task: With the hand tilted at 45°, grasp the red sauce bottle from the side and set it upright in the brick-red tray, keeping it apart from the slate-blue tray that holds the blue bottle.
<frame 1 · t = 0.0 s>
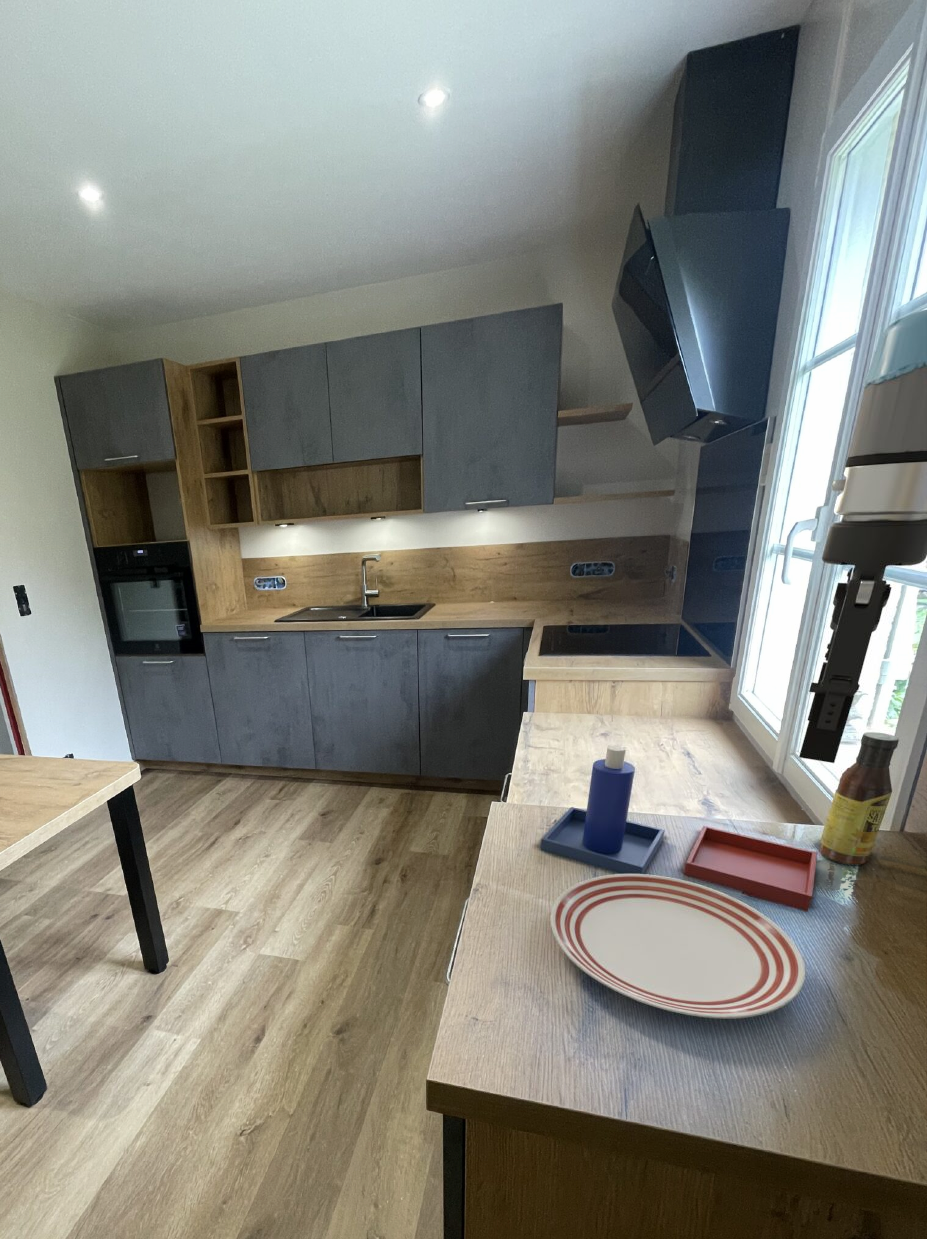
hand: (819, 739, 63), 29 cm above the countertop, tool pointing down, fingers open, 13 cm apart
blue bottle: (601, 845, 100), resting on blue tray
sauce bottle: (841, 857, 95), on the countertop
dinner plate: (663, 953, 76), on the countertop
red tray: (748, 871, 92), on the countertop
blue tray: (601, 847, 100), on the countertop
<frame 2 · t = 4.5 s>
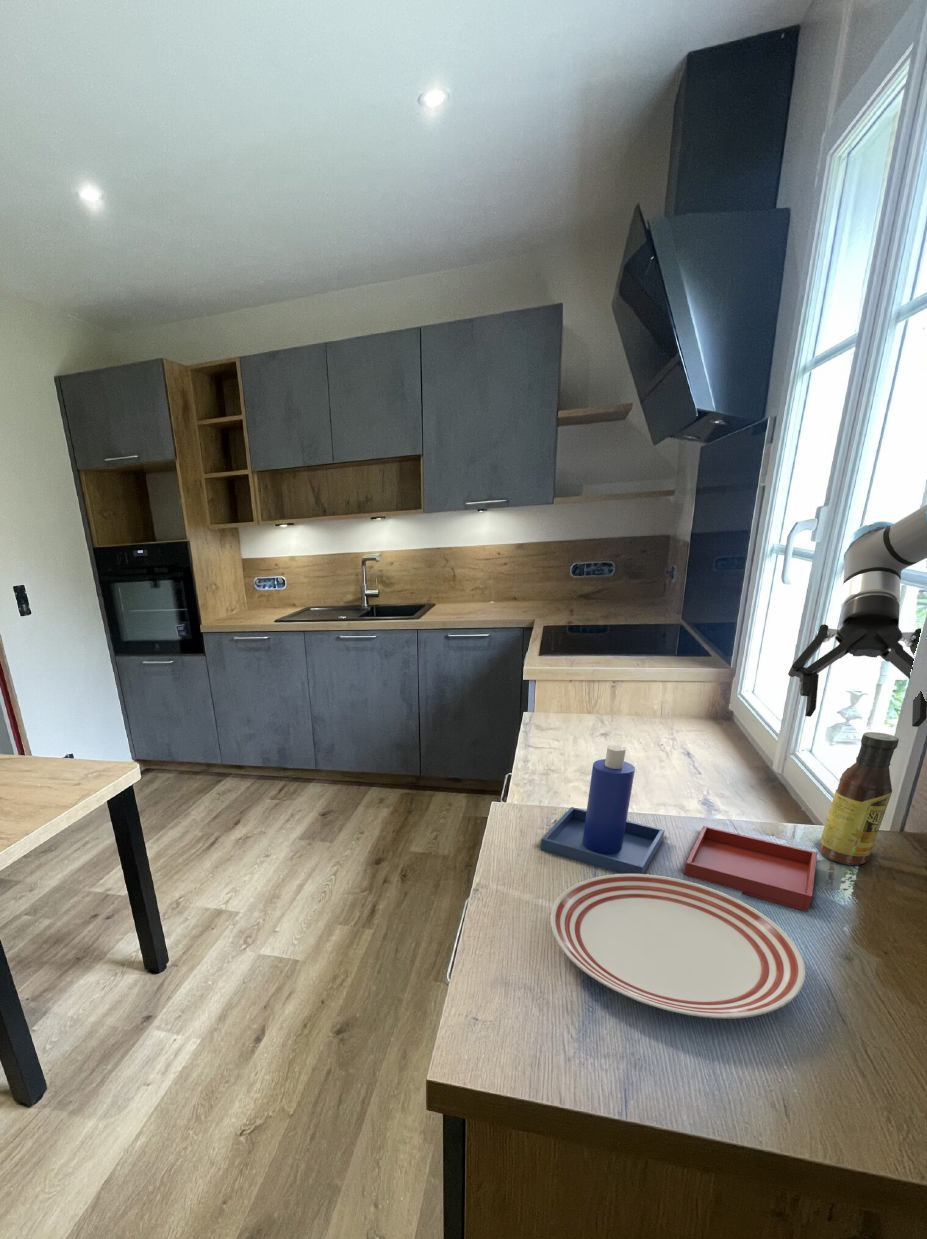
hand: (863, 717, 96), 20 cm above the countertop, tool tilted 45°, fingers open, 13 cm apart
nothing on the countertop moved.
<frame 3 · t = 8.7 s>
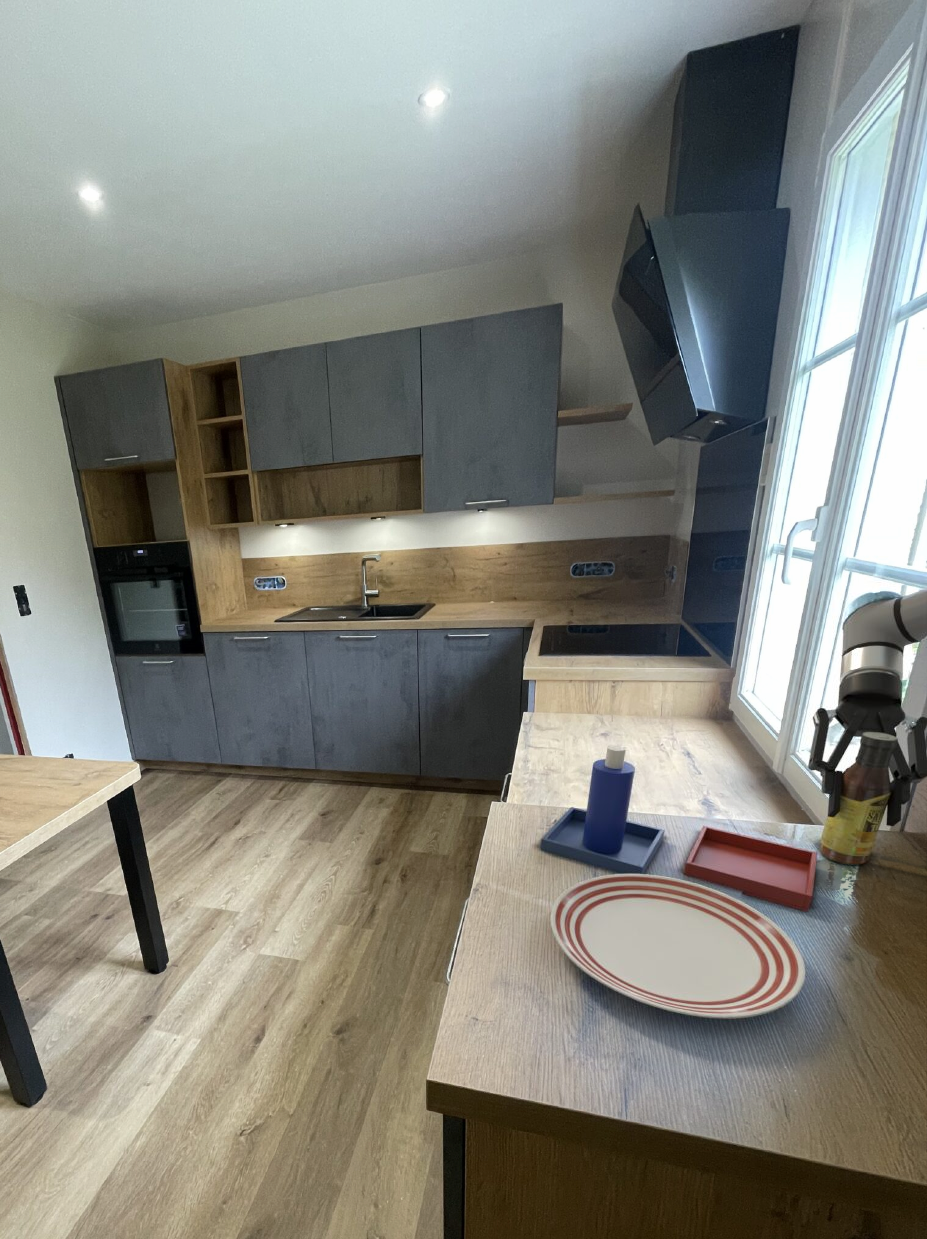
hand: (863, 818, 89), 8 cm above the countertop, tool tilted 45°, fingers closed on sauce bottle, 6 cm apart
sauce bottle: (841, 857, 95), on the countertop, touching gripper
everything else where it was.
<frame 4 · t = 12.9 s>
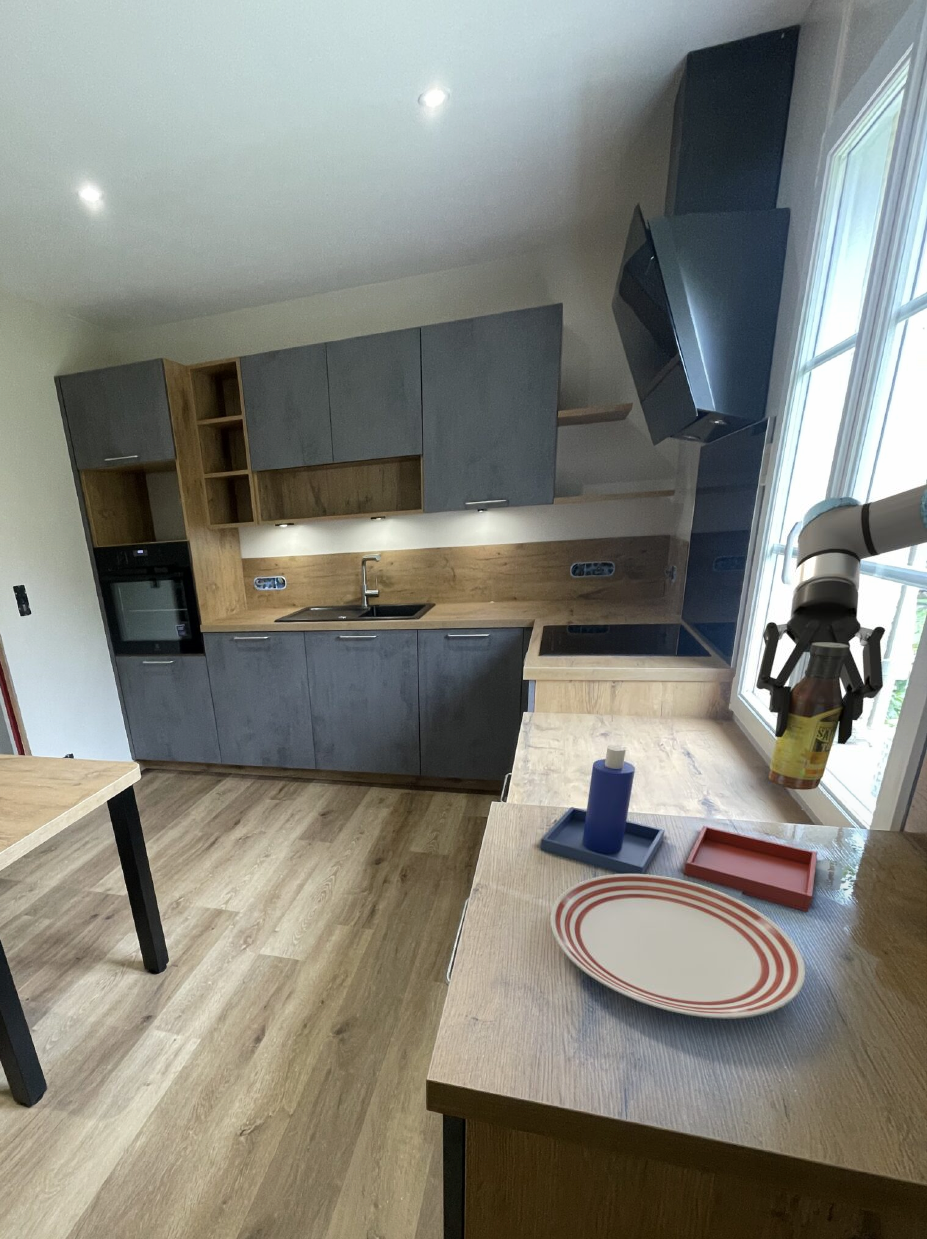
hand: (812, 735, 82), 22 cm above the countertop, tool tilted 45°, fingers closed on sauce bottle, 6 cm apart
sauce bottle: (792, 784, 88), point 14 cm above the countertop, touching gripper
everything else where it was.
when the fingers open (9 cm above the countertop, at t = 17.3 s): sauce bottle stays where it is, resting on red tray.
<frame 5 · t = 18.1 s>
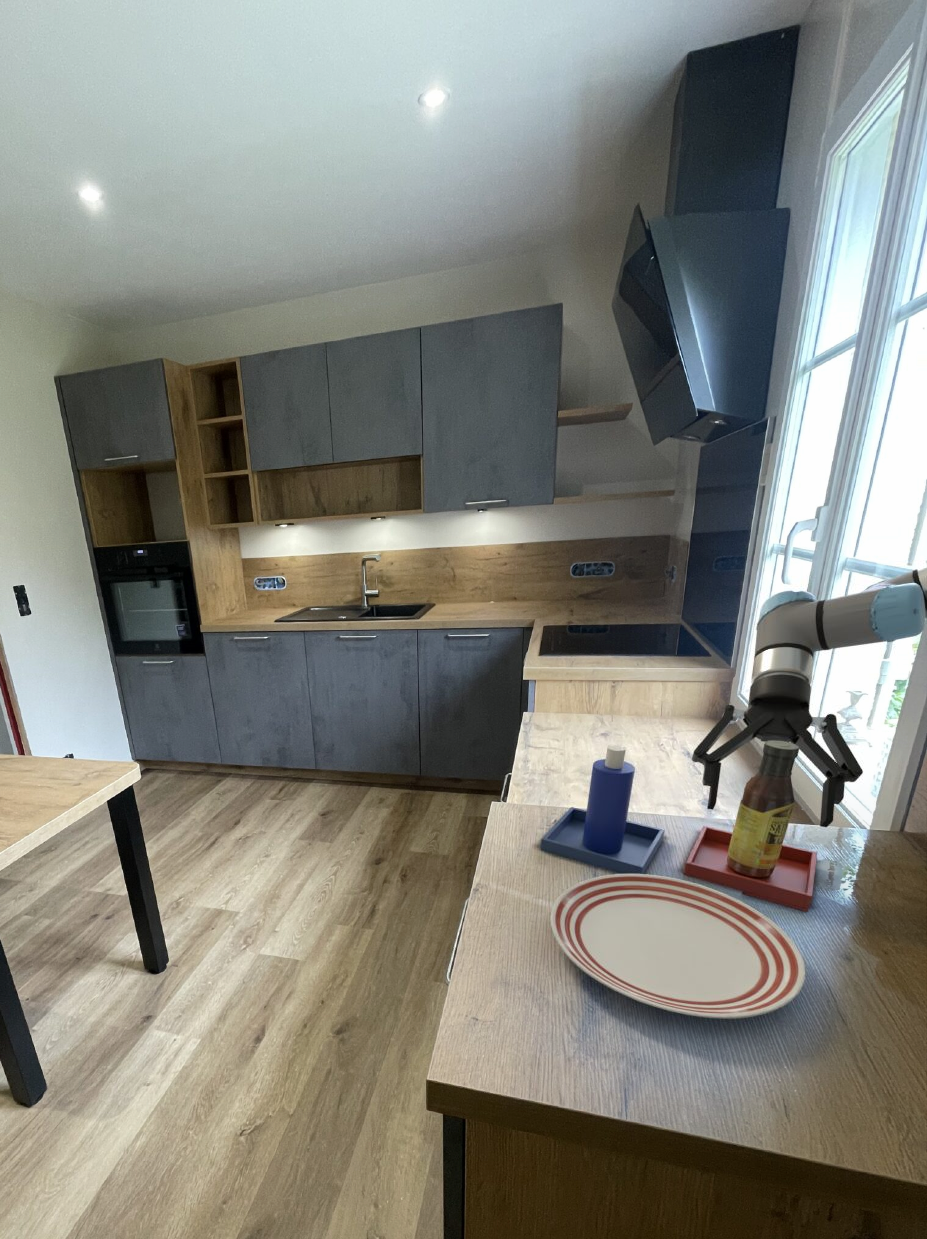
hand: (766, 814, 86), 11 cm above the countertop, tool tilted 45°, fingers open, 13 cm apart
sauce bottle: (749, 869, 92), resting on red tray
everything else where it was.
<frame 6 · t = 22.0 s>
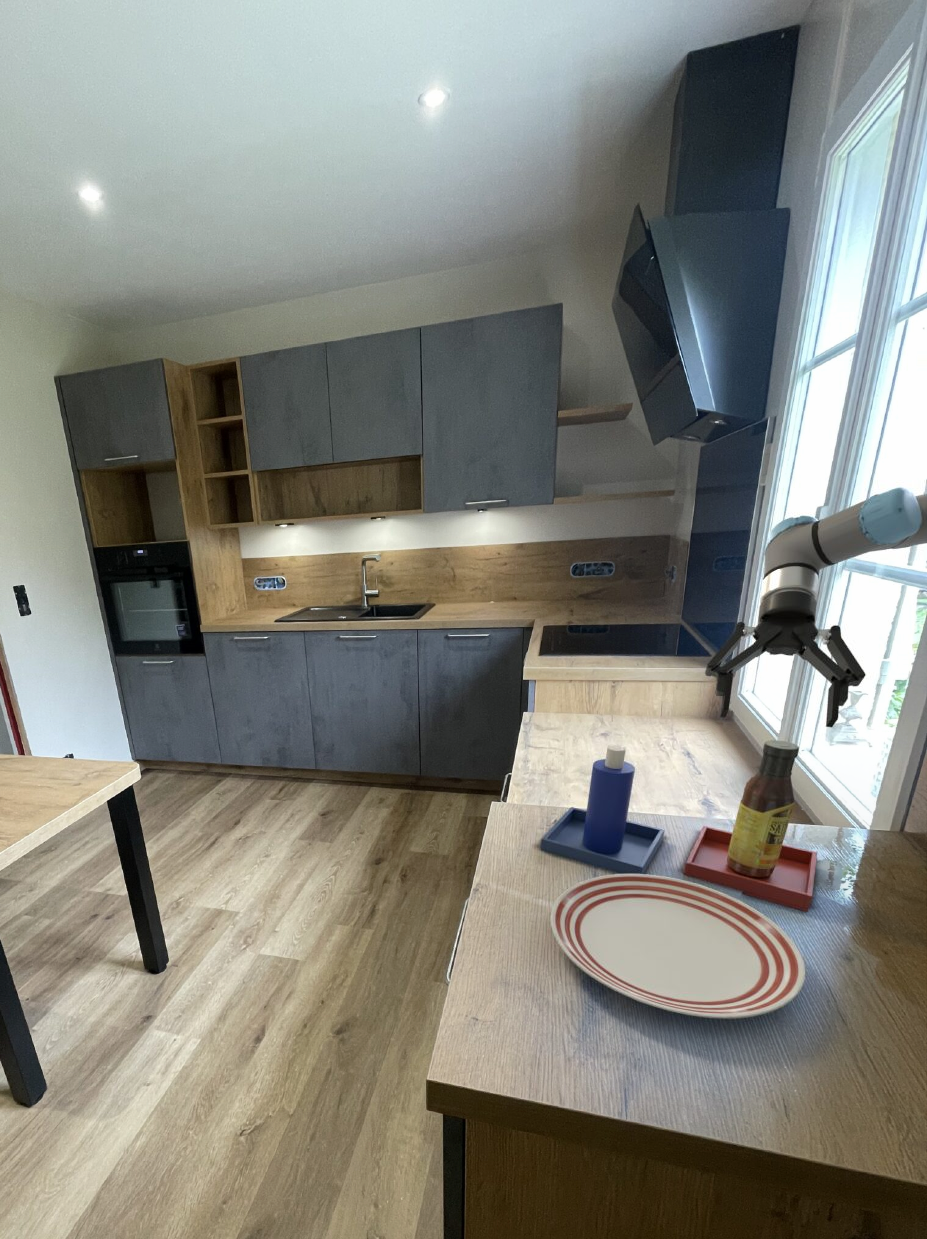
hand: (776, 718, 93), 21 cm above the countertop, tool tilted 45°, fingers open, 13 cm apart
nothing on the countertop moved.
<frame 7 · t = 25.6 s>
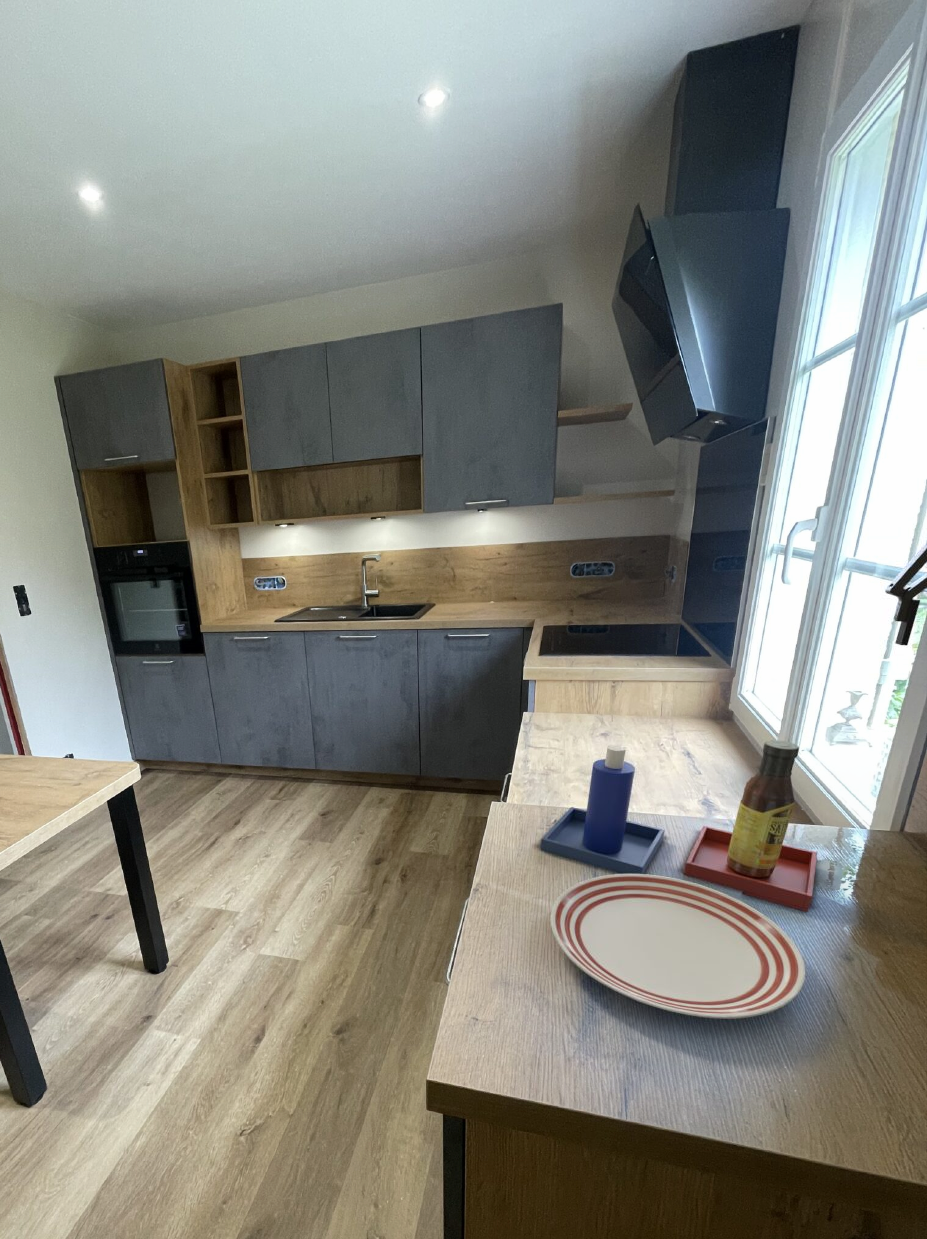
nothing on the countertop moved.
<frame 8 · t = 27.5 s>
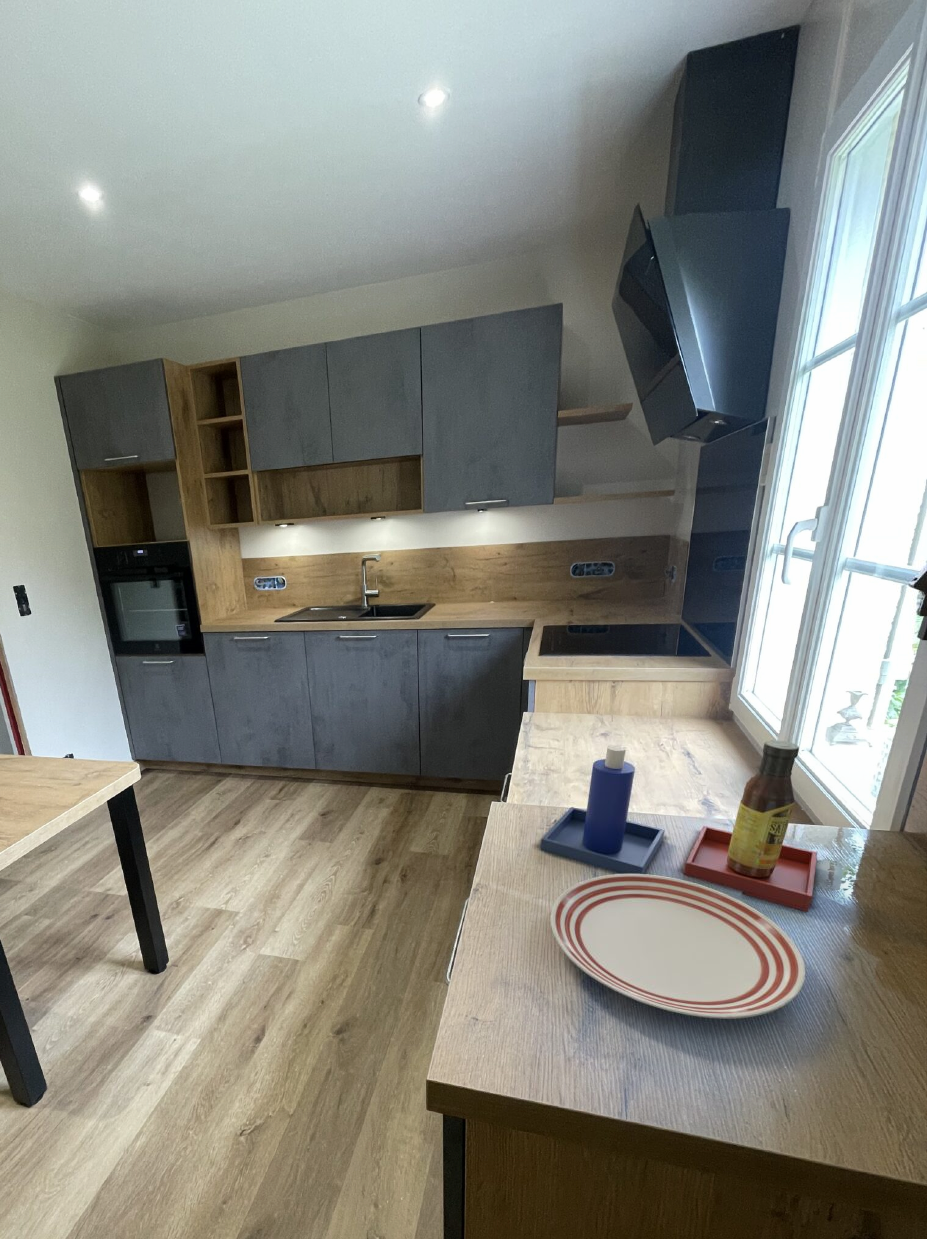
nothing on the countertop moved.
at the end: sauce bottle inside the target area in the red tray (0.1 cm from its centre), point 0.3 cm above the red tray's base; sauce bottle tilted 0°; blue bottle moved 0.0 cm from its start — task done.
